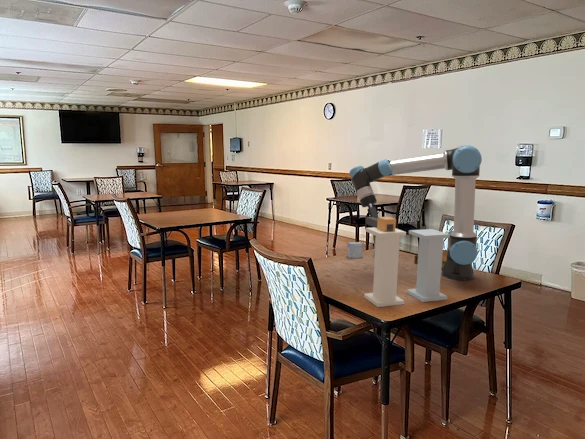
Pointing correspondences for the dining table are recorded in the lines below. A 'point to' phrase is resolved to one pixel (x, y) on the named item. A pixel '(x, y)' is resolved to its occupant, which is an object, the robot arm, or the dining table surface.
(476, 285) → the dining table surface
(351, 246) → the medicine box
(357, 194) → the robot arm
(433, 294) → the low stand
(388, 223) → the orange and black bar
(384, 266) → the stand
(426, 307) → the dining table surface
